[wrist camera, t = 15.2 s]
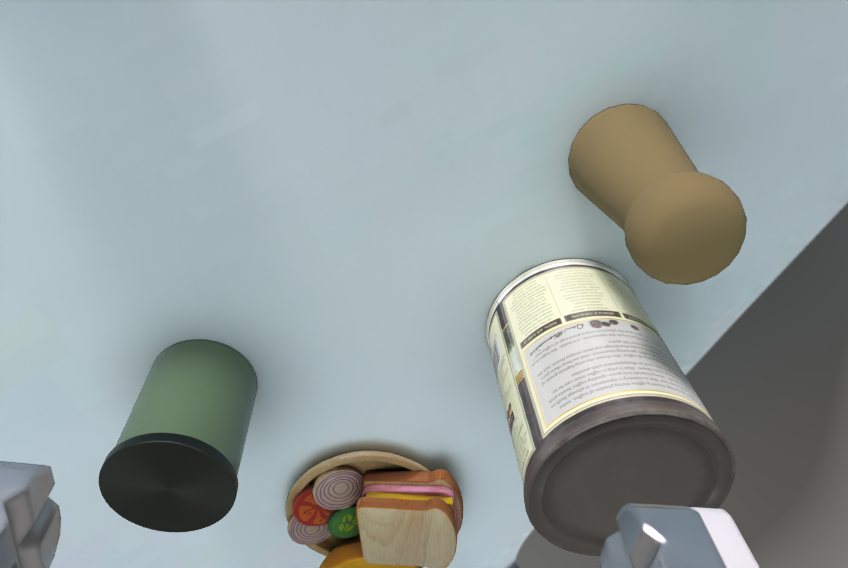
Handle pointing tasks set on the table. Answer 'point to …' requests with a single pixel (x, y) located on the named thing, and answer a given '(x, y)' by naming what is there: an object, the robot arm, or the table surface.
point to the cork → (657, 195)
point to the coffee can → (598, 405)
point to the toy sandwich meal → (376, 512)
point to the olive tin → (183, 440)
